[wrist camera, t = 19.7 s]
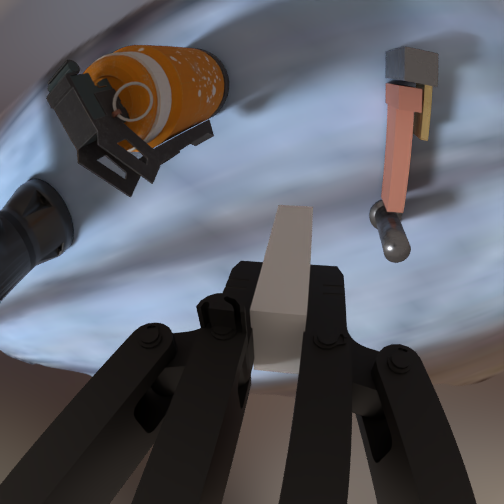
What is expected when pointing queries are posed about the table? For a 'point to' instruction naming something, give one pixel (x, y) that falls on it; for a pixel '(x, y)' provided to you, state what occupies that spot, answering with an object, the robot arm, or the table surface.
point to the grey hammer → (415, 80)
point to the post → (390, 232)
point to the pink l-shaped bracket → (399, 143)
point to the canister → (138, 107)
